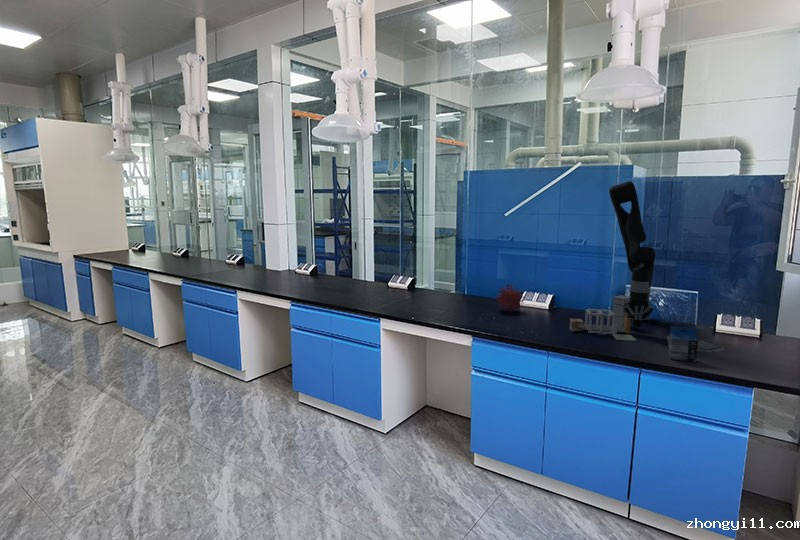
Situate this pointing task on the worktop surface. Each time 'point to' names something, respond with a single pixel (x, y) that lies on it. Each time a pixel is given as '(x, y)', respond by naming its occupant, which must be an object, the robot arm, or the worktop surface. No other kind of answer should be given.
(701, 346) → the security device
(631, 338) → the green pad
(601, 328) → the gray angular frame
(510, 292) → the virus model
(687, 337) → the label tape box
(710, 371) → the worktop surface
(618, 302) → the syrup box
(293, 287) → the worktop surface
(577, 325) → the beech block
